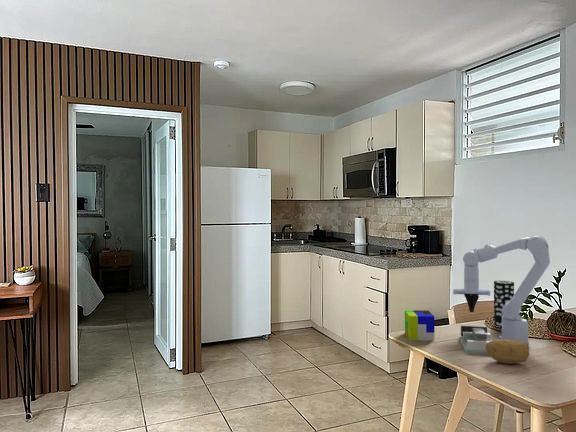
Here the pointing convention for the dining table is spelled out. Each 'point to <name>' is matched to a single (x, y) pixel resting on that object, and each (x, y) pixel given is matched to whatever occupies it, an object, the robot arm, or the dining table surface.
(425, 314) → the puzzle toy
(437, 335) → the dining table surface
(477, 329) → the steel block
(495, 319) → the white-spotted black cylinder
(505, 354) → the potato
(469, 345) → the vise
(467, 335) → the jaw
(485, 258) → the robot arm
